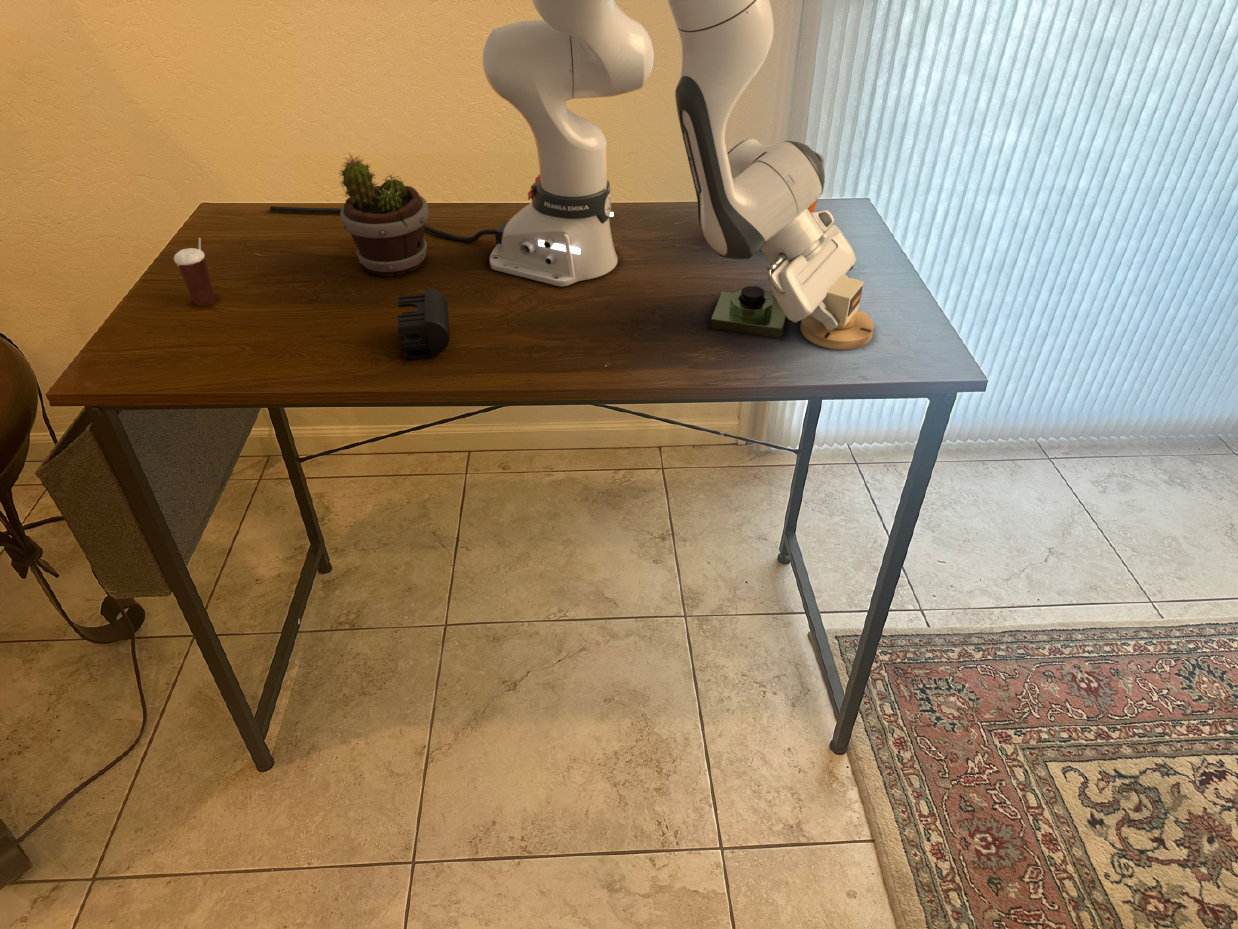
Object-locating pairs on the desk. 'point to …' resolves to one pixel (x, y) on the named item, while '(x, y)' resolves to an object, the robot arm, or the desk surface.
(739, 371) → the desk surface
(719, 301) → the base
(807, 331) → the stand
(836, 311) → the tan cube with screen
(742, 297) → the button
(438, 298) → the end cap
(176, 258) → the milkshake
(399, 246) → the flowerpot
